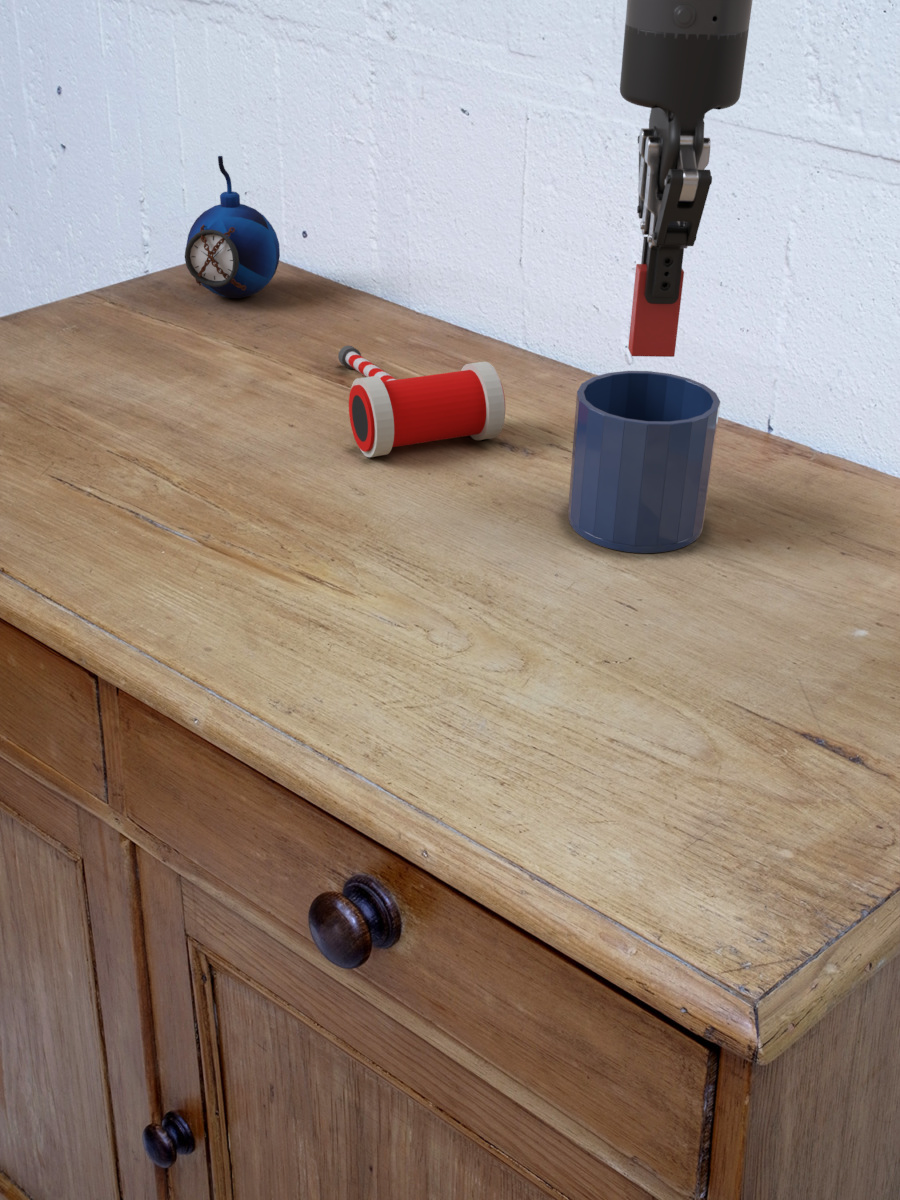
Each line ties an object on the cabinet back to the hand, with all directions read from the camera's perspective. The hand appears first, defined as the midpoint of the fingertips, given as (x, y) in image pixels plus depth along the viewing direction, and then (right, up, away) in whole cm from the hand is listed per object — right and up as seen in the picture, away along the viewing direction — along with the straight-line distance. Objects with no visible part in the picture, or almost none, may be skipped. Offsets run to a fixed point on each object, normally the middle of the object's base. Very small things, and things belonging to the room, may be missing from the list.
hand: (657, 295), depth 89 cm
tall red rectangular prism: (0, -3, +2) cm, 4 cm away
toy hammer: (-19, -5, +25) cm, 32 cm away
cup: (0, -15, +9) cm, 17 cm away
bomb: (-37, +12, +53) cm, 66 cm away
